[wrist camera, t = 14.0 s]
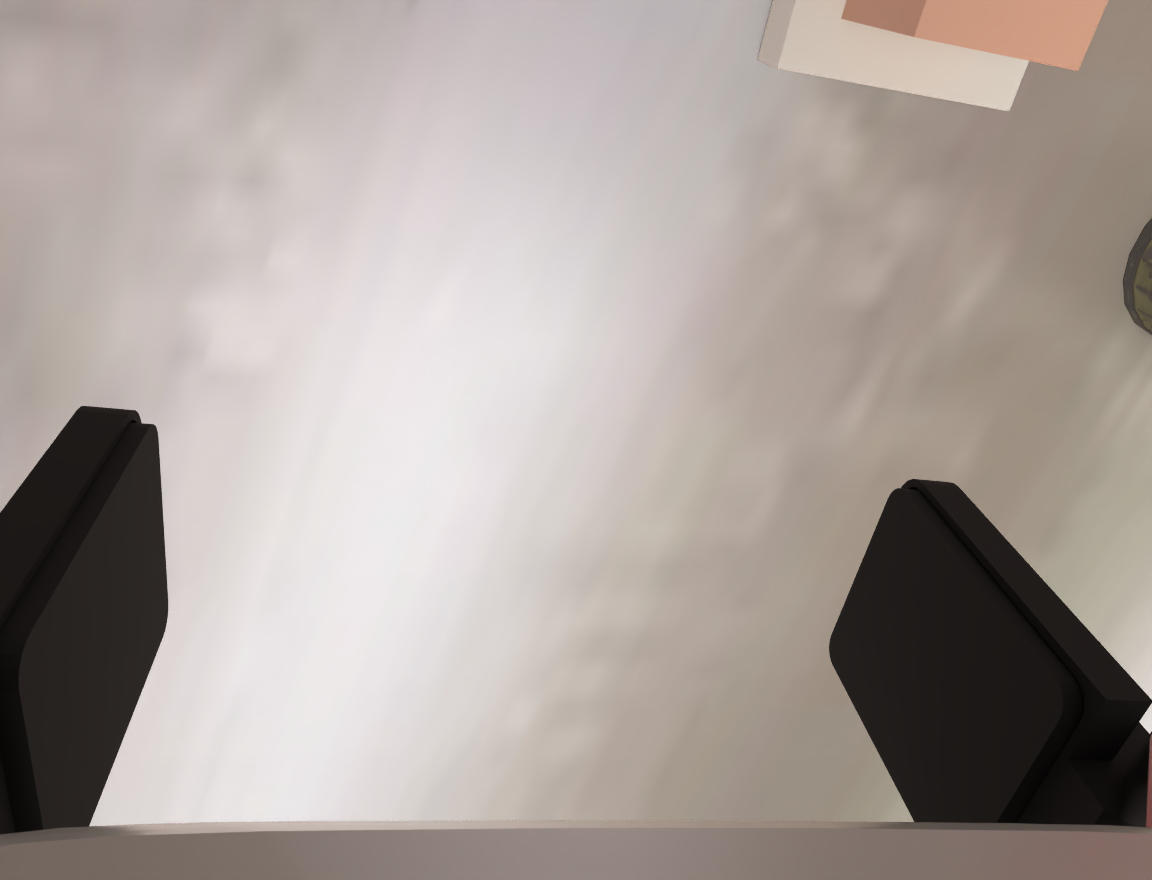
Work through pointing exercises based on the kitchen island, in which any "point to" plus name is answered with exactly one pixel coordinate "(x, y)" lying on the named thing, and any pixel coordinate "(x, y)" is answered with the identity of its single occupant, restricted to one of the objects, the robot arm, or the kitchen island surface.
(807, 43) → the block
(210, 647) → the kitchen island surface
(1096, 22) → the cube
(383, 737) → the kitchen island surface
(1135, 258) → the thermos
